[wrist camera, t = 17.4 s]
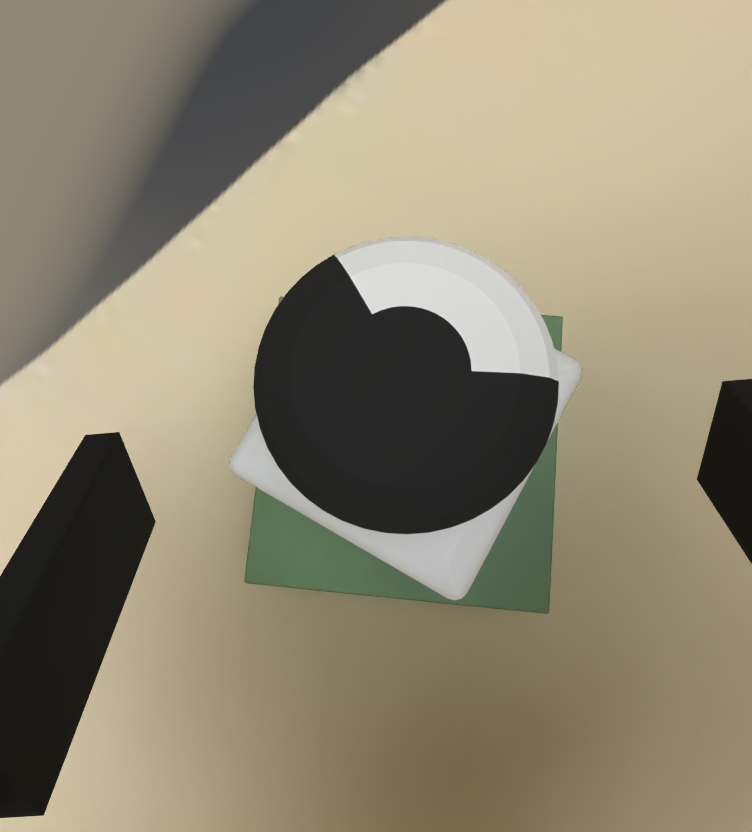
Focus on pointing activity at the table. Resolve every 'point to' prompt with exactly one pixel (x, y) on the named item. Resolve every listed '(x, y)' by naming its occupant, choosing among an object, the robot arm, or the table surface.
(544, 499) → the green block
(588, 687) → the table surface
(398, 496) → the medicine bottle
